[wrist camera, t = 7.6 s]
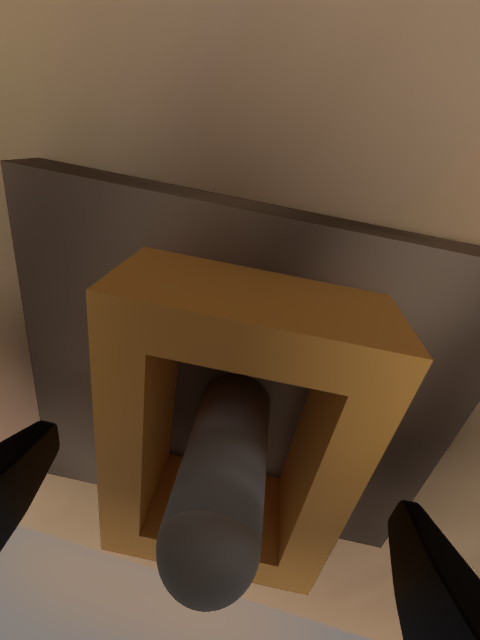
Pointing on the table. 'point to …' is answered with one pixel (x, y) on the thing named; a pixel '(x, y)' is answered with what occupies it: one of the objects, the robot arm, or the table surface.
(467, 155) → the table surface
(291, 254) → the keeper board
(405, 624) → the robot arm
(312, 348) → the tan rectangular frame
